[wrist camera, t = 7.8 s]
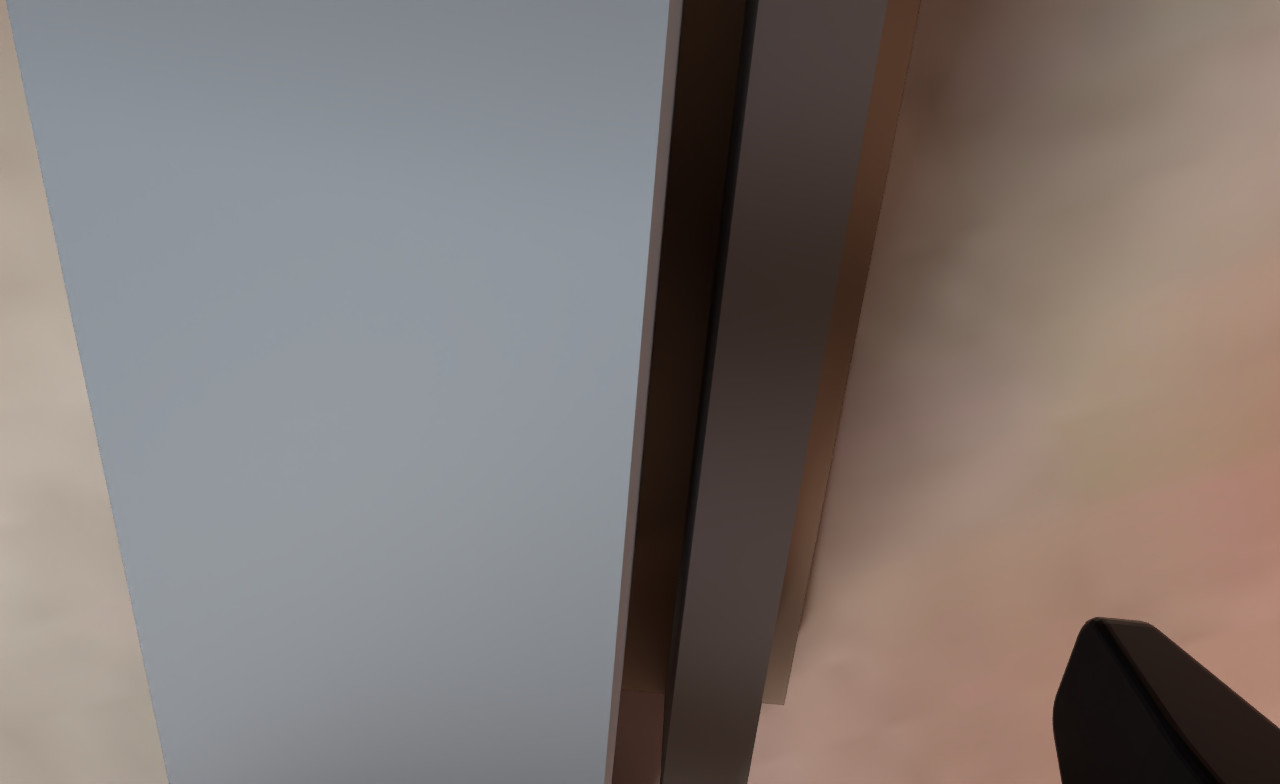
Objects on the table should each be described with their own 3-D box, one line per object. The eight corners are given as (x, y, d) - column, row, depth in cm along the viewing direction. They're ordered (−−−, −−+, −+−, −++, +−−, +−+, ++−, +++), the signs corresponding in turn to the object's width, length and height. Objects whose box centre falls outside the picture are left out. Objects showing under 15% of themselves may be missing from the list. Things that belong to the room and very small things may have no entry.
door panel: (636, 544, 17) (568, 1221, 9) (466, 528, 17) (254, 1190, 9) (701, -193, 12) (678, -108, 4) (462, -214, 12) (-31, -170, 4)
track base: (780, 662, 19) (793, 832, 16) (327, 618, 19) (255, 778, 16) (998, -499, 11) (1105, -600, 8) (219, -563, 11) (36, -684, 8)
